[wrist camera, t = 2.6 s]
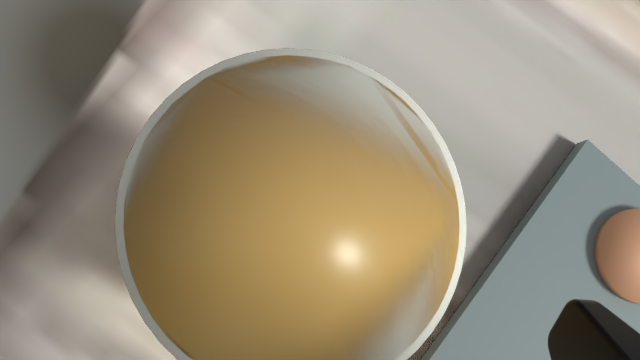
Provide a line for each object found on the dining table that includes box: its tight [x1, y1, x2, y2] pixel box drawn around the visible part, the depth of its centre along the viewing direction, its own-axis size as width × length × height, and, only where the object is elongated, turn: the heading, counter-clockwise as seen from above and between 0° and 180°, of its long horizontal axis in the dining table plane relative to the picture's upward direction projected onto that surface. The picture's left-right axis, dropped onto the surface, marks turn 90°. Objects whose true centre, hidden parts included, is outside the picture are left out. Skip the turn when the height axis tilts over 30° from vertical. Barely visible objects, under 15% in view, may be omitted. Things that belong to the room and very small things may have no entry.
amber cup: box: [115, 48, 467, 360], centre depth 13 cm, size 5×5×10 cm
